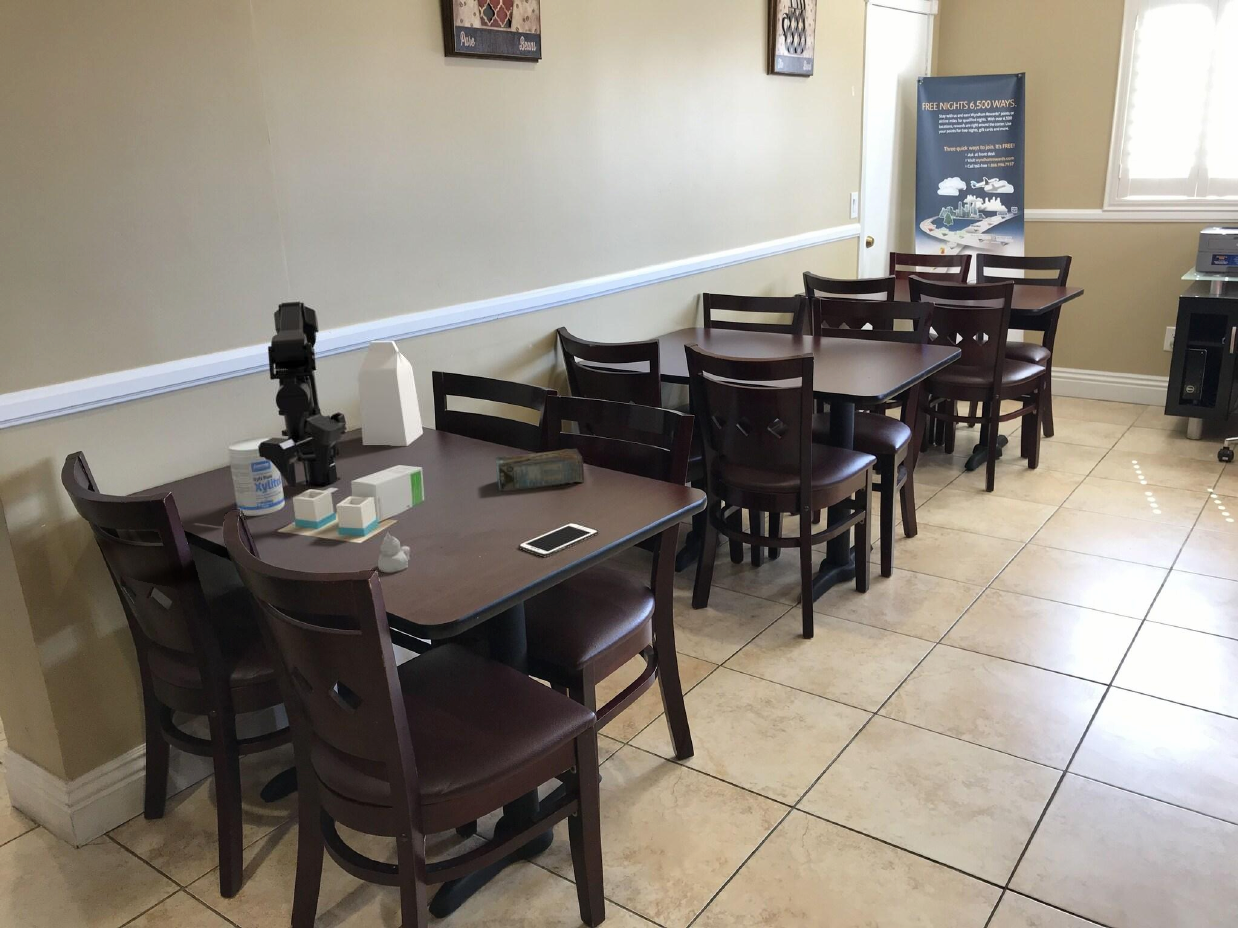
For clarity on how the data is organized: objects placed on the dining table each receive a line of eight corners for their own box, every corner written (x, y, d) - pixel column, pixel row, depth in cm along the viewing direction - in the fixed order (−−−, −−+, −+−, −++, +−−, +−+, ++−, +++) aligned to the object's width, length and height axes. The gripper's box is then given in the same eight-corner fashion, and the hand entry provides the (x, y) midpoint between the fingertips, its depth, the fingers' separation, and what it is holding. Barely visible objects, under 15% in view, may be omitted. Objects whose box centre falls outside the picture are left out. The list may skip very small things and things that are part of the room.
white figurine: (371, 574, 169) (366, 532, 167) (400, 561, 174) (395, 520, 171) (391, 581, 166) (386, 538, 163) (420, 568, 171) (415, 526, 168)
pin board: (277, 535, 188) (274, 512, 187) (318, 514, 199) (314, 492, 197) (360, 547, 181) (357, 523, 179) (398, 525, 191) (395, 501, 190)
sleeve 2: (338, 534, 185) (334, 505, 183) (353, 523, 190) (349, 495, 188) (364, 536, 184) (361, 507, 182) (378, 525, 189) (375, 497, 187)
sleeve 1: (295, 526, 190) (291, 497, 188) (314, 516, 195) (310, 488, 193) (318, 529, 188) (313, 500, 186) (336, 519, 193) (332, 491, 191)
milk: (363, 445, 247) (350, 346, 239) (380, 433, 258) (369, 337, 249) (407, 446, 245) (395, 345, 237) (423, 433, 256) (412, 337, 247)
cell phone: (600, 535, 183) (600, 530, 183) (544, 559, 173) (544, 554, 173) (572, 526, 188) (572, 521, 188) (516, 549, 178) (516, 545, 178)
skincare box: (425, 503, 203) (379, 525, 189) (399, 500, 205) (352, 521, 192) (422, 465, 201) (375, 484, 187) (396, 462, 203) (348, 481, 190)
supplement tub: (266, 519, 198) (255, 451, 193) (228, 516, 200) (216, 449, 196) (294, 503, 206) (284, 438, 202) (258, 500, 209) (247, 436, 205)
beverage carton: (496, 481, 216) (494, 453, 214) (580, 473, 219) (578, 445, 217) (499, 492, 208) (497, 464, 206) (586, 483, 212) (584, 455, 210)
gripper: (298, 418, 173) (310, 499, 177) (362, 394, 189) (371, 468, 194) (250, 414, 177) (263, 493, 182) (317, 391, 193) (327, 464, 198)
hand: (309, 479), depth 189 cm, fingers open, 9 cm apart
